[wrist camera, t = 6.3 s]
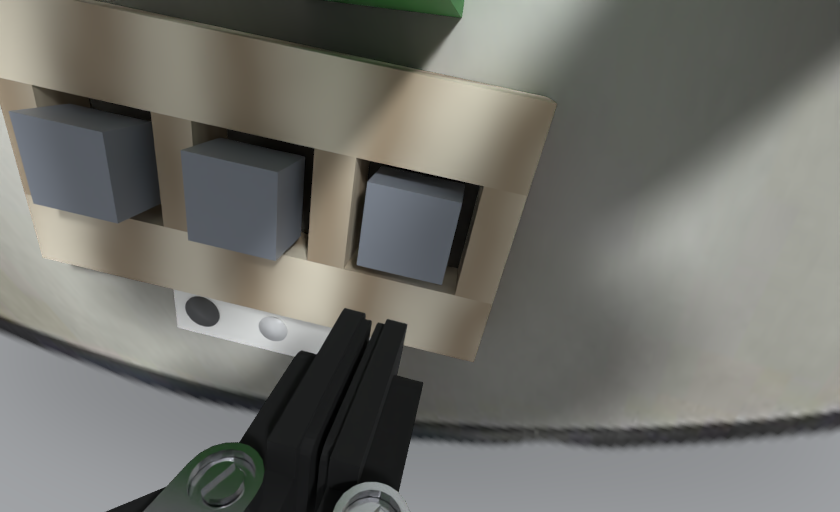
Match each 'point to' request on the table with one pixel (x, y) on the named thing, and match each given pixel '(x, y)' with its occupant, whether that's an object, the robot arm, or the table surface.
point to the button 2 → (409, 224)
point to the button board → (290, 122)
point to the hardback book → (415, 5)
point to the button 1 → (88, 161)
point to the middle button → (243, 197)
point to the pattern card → (247, 325)
